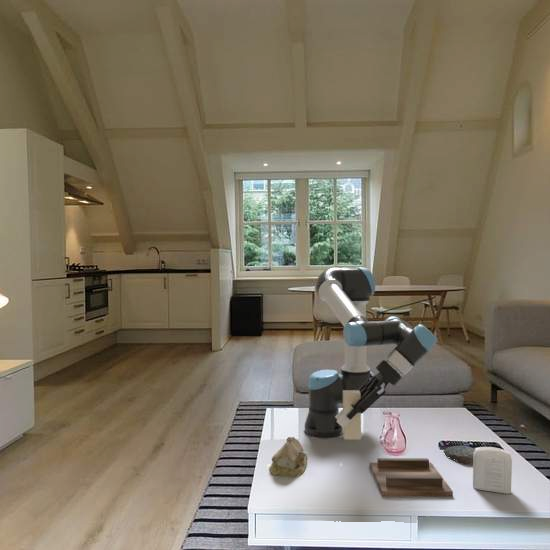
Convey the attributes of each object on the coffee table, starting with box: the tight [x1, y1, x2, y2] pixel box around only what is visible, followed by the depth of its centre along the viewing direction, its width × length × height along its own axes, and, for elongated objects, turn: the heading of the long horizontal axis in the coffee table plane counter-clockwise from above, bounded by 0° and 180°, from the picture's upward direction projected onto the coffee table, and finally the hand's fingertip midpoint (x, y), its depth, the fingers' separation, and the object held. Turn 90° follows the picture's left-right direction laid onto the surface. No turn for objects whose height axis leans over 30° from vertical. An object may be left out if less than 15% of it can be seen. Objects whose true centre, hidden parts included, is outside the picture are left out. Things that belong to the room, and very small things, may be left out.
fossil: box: [443, 445, 475, 465], centre depth 150 cm, size 10×13×4 cm
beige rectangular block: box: [342, 390, 362, 440], centre depth 133 cm, size 3×5×14 cm, turn 89°
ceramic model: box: [268, 436, 308, 478], centre depth 143 cm, size 14×11×10 cm
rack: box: [369, 457, 454, 497], centre depth 134 cm, size 18×20×4 cm
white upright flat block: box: [472, 446, 513, 495], centre depth 129 cm, size 10×4×12 cm, turn 72°
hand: (339, 422), depth 133 cm, fingers closed on beige rectangular block, 3 cm apart
